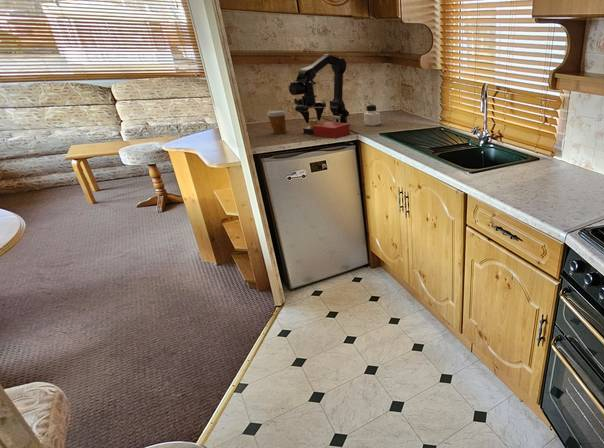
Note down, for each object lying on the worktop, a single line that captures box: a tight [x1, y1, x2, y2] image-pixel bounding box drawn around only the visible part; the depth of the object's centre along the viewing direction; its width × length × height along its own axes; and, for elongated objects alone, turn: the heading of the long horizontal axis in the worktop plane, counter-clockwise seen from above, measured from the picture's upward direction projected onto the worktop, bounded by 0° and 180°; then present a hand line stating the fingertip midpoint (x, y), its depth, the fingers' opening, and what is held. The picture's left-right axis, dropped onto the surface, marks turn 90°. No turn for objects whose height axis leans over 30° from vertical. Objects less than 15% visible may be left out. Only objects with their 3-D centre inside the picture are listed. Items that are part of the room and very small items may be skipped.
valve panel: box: [302, 125, 314, 136], centre depth 232 cm, size 10×9×3 cm
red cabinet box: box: [313, 125, 351, 139], centre depth 227 cm, size 13×15×5 cm
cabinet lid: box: [313, 115, 351, 129], centre depth 226 cm, size 13×15×5 cm
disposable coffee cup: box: [266, 109, 287, 135], centre depth 228 cm, size 10×10×12 cm
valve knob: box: [308, 118, 319, 128], centre depth 231 cm, size 4×4×4 cm
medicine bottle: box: [363, 104, 382, 127], centre depth 253 cm, size 7×7×12 cm
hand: (313, 121), depth 231 cm, fingers open, 9 cm apart
